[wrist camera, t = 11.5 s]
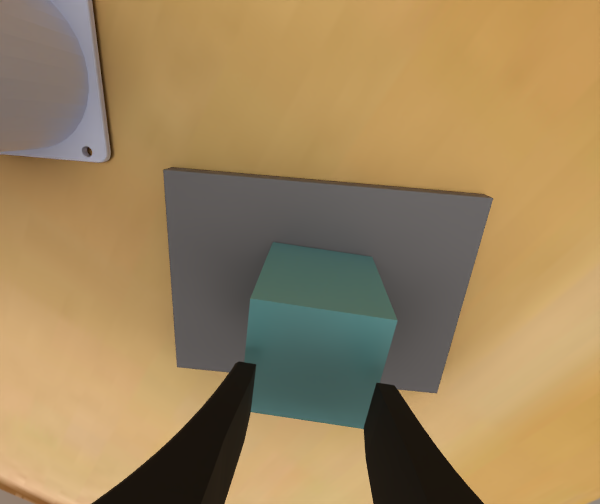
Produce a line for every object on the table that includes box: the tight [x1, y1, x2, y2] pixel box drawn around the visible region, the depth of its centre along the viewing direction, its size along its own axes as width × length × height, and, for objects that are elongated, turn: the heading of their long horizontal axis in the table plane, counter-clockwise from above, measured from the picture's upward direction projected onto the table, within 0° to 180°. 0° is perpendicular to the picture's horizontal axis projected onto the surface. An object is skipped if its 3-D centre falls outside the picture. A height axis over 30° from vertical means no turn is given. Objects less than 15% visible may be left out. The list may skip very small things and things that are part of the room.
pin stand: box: [163, 167, 493, 393], centre depth 16 cm, size 16×12×6 cm
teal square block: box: [244, 242, 398, 429], centre depth 15 cm, size 5×5×6 cm
